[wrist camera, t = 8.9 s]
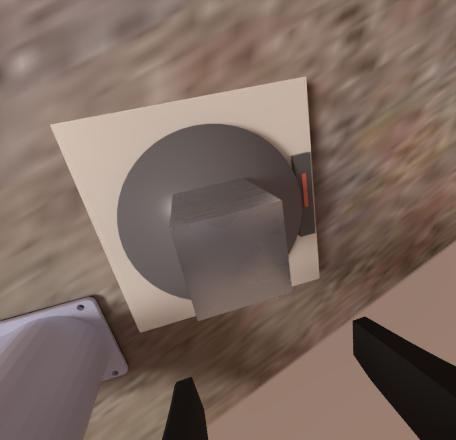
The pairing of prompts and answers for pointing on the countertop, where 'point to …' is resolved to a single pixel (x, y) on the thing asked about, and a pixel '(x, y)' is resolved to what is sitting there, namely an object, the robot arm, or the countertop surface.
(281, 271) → the block
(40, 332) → the robot arm
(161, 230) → the kitchen scale
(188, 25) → the countertop surface
